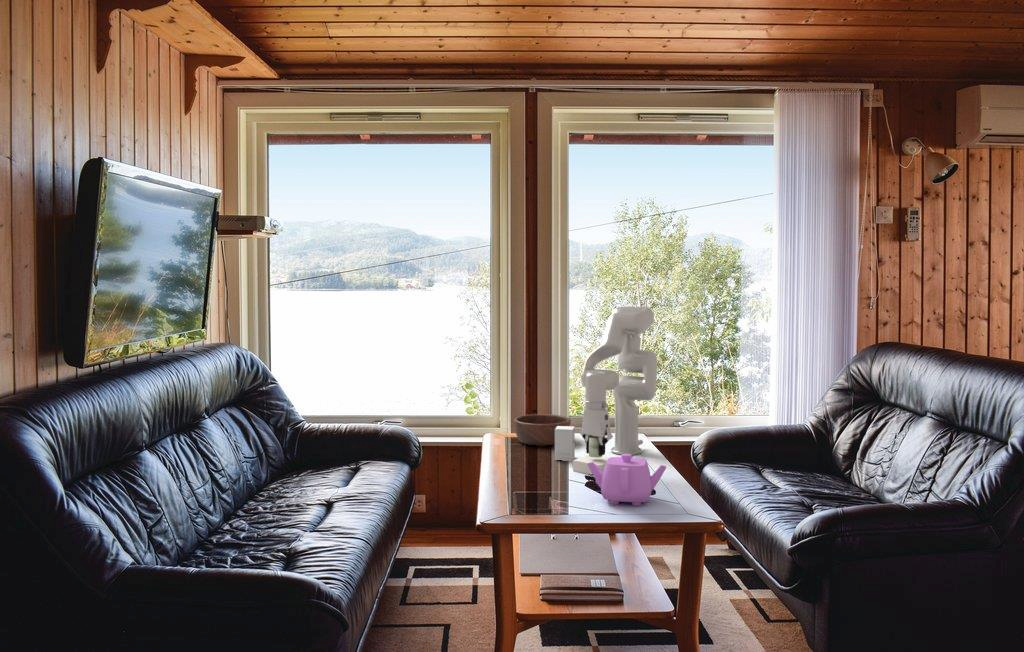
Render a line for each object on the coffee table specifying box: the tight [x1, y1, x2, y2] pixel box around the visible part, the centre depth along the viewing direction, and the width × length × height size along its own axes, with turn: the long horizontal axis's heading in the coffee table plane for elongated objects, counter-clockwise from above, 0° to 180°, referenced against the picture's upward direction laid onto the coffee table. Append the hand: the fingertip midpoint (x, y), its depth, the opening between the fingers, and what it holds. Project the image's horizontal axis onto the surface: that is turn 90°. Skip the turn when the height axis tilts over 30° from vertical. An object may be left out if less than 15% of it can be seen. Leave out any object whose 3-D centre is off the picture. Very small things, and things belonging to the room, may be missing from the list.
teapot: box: [587, 454, 667, 507], centre depth 240 cm, size 19×18×15 cm
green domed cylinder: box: [588, 436, 603, 458], centre depth 278 cm, size 5×5×7 cm
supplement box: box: [554, 425, 576, 462], centre depth 297 cm, size 7×7×13 cm
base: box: [572, 455, 610, 475], centre depth 279 cm, size 12×12×4 cm
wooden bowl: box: [513, 413, 572, 447], centre depth 329 cm, size 25×25×10 cm
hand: (595, 453), depth 278 cm, fingers closed on green domed cylinder, 4 cm apart
